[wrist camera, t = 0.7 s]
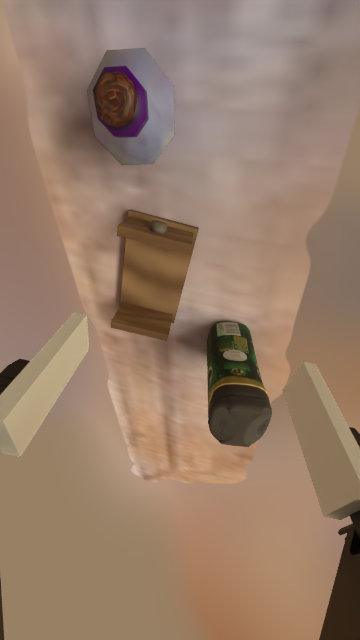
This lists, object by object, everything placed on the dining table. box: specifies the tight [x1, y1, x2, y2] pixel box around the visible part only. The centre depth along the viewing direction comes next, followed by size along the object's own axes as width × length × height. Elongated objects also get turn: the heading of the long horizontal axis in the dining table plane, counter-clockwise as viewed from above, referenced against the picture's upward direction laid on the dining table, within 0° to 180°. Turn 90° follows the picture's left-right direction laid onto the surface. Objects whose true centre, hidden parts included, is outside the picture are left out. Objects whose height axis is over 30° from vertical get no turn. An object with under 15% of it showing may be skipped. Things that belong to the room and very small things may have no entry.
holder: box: [111, 210, 198, 341], centre depth 34 cm, size 17×10×7 cm, turn 167°
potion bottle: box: [87, 48, 175, 165], centre depth 22 cm, size 9×9×12 cm
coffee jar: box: [207, 322, 272, 447], centre depth 36 cm, size 10×8×19 cm
